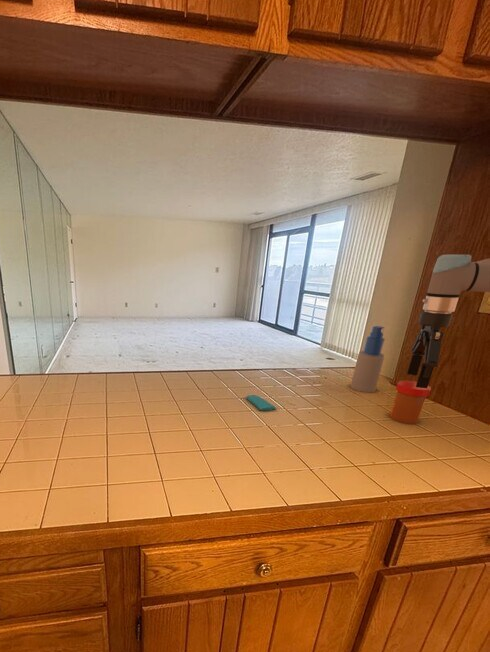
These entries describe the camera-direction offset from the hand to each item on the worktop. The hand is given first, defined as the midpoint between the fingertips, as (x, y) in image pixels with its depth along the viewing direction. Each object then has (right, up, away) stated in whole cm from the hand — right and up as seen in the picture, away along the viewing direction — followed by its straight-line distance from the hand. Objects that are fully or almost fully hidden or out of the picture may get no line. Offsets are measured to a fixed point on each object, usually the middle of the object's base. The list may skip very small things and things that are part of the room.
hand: (416, 380), depth 109 cm
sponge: (-45, -8, +14) cm, 48 cm away
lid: (0, -2, +1) cm, 2 cm away
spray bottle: (+1, -1, +32) cm, 32 cm away
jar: (0, -12, +5) cm, 13 cm away
